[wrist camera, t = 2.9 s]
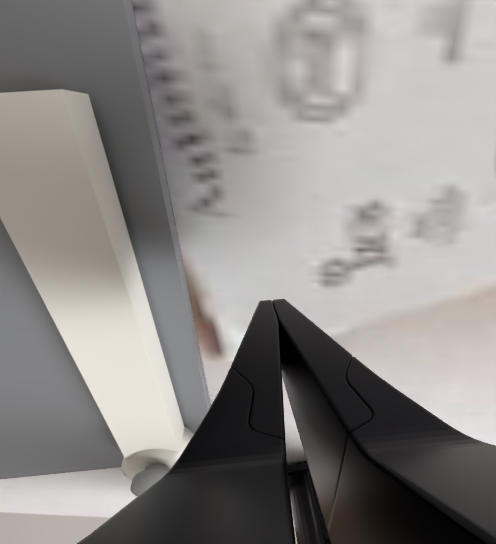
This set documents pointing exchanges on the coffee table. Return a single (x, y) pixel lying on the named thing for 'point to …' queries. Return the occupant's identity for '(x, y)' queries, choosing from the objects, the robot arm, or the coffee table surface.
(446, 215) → the coffee table surface
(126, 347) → the link
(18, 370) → the pivot base plate
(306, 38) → the coffee table surface
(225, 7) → the coffee table surface
